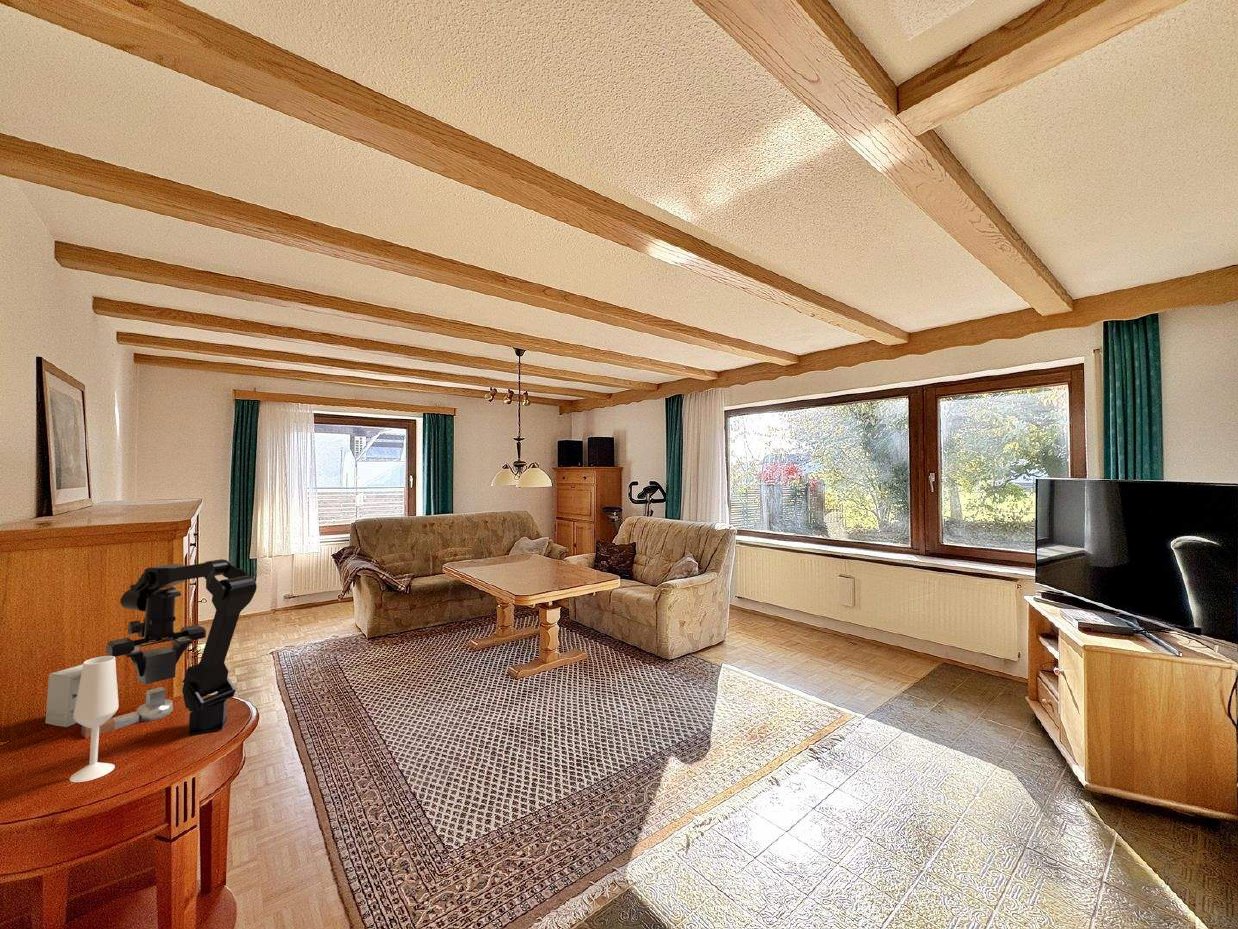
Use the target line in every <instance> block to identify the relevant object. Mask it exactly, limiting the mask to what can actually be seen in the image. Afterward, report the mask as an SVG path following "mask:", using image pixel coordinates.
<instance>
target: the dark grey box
mask: <svg viewBox="0 0 1238 929" xmlns="http://www.w3.org/2000/svg"><path fill="white" fill-rule="evenodd" d="M141 651H142V652H143V674H142V676H141V677H140V676H139V675H138V673H137V676H136V679H137V681H139V682H140V683H142V684H143V685H146V686H147V685H148V684H149V685H150V684H153V683H158V682H161V681H165V680H169V679H173V678H175V677H176V668H177V664H176V654H177V651H176V650H175V649H173V647H171V646H170V645H166V646H161V647H155V648H152V649H148V650H141Z"/></svg>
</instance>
